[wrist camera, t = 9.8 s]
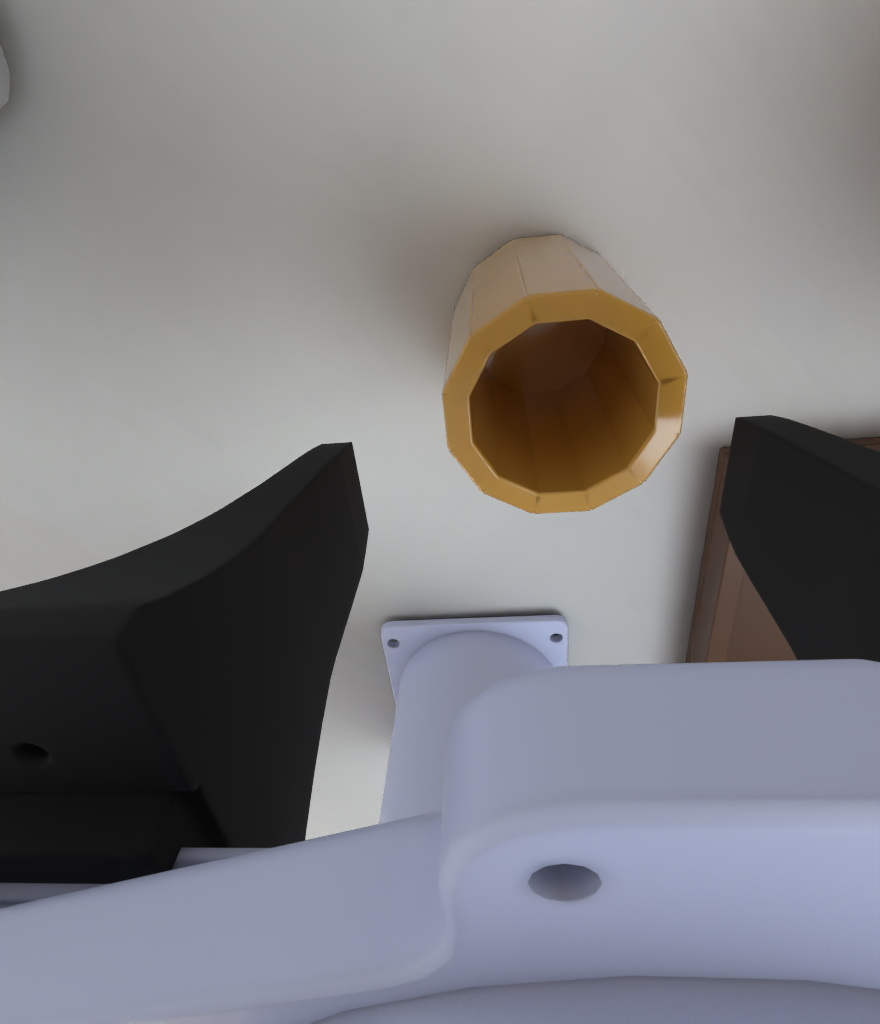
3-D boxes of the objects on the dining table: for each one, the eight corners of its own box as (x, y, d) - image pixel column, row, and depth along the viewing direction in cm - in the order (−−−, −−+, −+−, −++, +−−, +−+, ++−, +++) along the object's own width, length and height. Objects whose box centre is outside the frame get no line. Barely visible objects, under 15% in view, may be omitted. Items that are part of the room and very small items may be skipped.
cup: (616, 395, 20) (672, 507, 14) (462, 407, 21) (455, 519, 15) (626, 227, 17) (700, 279, 12) (448, 245, 18) (431, 304, 12)
